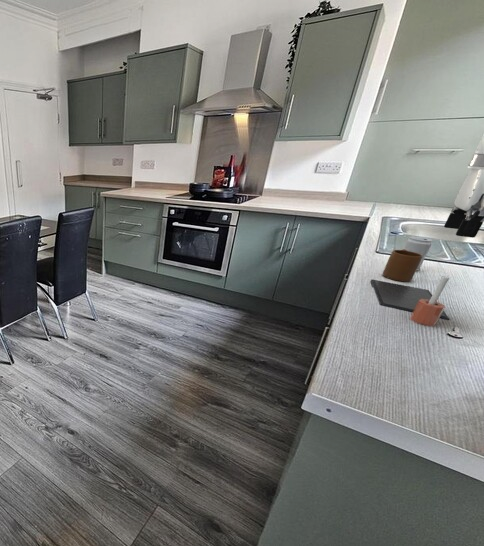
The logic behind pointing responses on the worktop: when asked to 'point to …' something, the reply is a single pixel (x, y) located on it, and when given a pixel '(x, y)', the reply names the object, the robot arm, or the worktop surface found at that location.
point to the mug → (402, 265)
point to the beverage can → (418, 247)
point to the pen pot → (427, 312)
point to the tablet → (401, 296)
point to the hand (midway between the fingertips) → (458, 232)
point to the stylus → (438, 290)
